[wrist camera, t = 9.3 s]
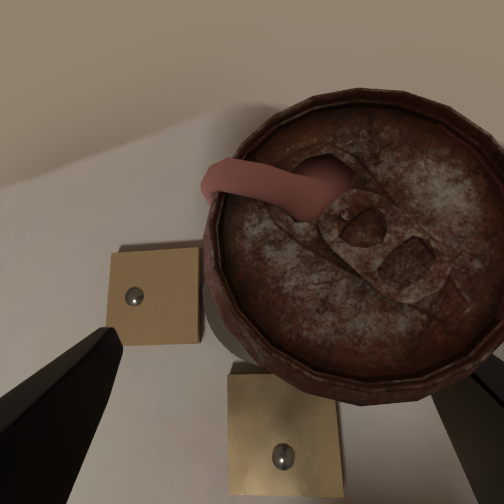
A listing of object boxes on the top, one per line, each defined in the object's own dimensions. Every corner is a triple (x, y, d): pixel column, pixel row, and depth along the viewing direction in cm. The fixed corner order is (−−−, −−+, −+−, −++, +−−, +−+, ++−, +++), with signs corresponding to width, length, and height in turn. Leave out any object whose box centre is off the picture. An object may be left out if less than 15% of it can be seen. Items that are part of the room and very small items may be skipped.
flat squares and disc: (371, 492, 17) (374, 499, 16) (99, 485, 18) (91, 491, 18) (341, 217, 20) (343, 213, 20) (118, 234, 22) (112, 231, 22)
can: (269, 243, 20) (218, 55, 7) (374, 261, 19) (573, 82, 5) (248, 340, 19) (130, 359, 5) (359, 366, 18) (576, 476, 4)
